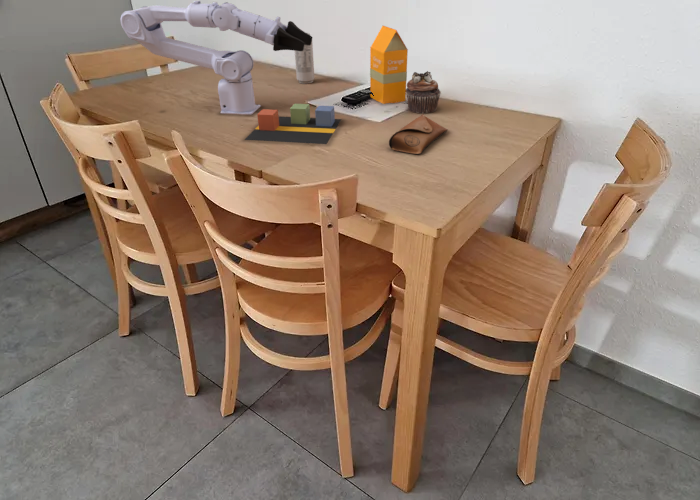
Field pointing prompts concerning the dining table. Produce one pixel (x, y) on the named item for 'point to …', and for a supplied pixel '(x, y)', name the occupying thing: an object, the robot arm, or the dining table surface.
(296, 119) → the sage block
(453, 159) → the dining table surface
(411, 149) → the sunglasses case
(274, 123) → the terracotta block
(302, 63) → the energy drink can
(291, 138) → the line mat
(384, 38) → the orange juice
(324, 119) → the blue block
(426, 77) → the cupcake
